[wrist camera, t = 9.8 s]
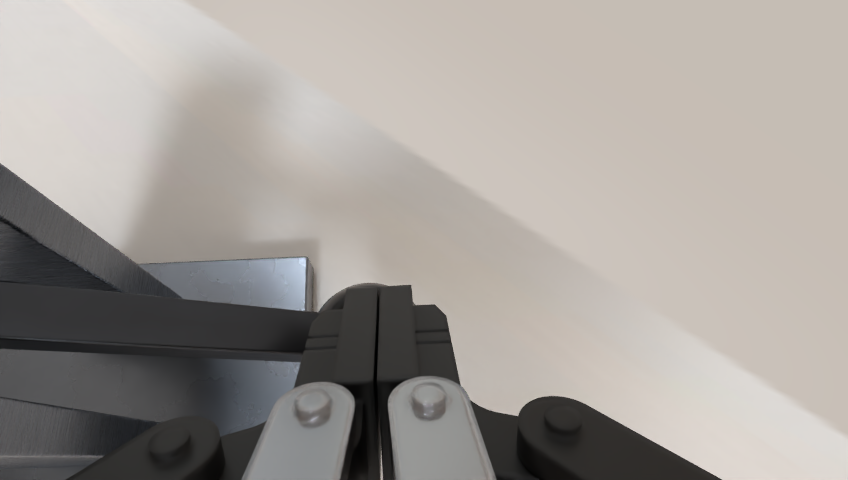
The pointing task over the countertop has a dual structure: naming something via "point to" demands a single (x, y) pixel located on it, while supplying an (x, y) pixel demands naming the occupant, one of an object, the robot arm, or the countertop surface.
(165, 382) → the bracket
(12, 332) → the tap lever
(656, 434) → the countertop surface
